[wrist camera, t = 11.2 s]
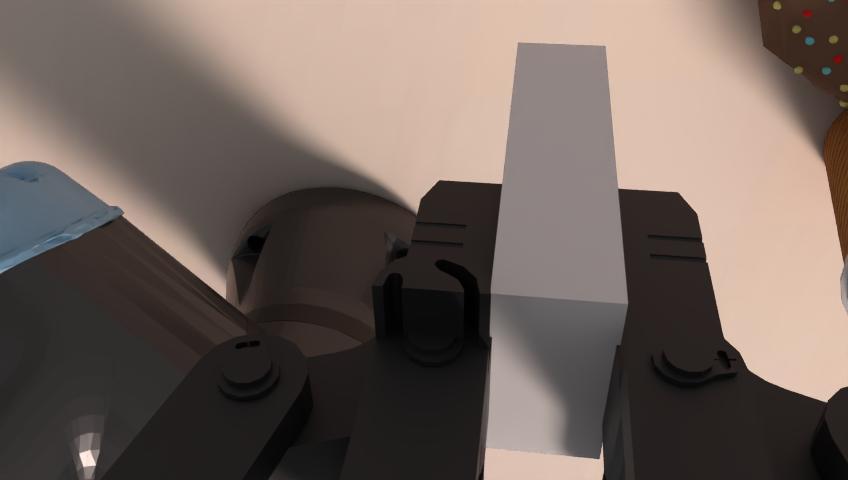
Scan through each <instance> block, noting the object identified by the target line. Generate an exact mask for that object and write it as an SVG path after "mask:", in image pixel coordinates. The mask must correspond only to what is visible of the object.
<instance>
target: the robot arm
mask: <svg viewBox="0 0 848 480" xmlns="http://www.w3.org/2000/svg"><path fill="white" fill-rule="evenodd" d="M123 214H124V212H123V211H122V210H121V209H120V208H119V207H118V206H109V205H107V204H106V203H105V202H103V201H102V200H100V199H99V198H98V197H96V196H95V195H94V194H92V193H91V192H89V191H88V190H87V189H85V188H84V187H83V186H81V185H80V184H79V183H77V182H76V181H74V180H73V179H72V178H70V177H69V176H68V175H66V174H65V173H64V172H62V171H61V170H59V169H57V168H56V167H54V166H51V165H49V164H46V163H42V162H36V161H23V162H17V163H14V164H11V165H8V166H5V167H3V168H1V169H0V480H484V460H485V449H486V448H495V449H505V450H515V451H525V452H535V453H545V454H554V455H564V456H574V457H584V458H594V459H600V453H601V448H602V443H603V457H604V474H603V479H602V480H848V387H844V388H841V389H840V390H839V391H838V392H837V393H835V394H834V395H833V396H832V397H831V398H830V399H829V400H828V402H827V403H826V402H823V401H820V400H817V399H814V398H811V397H808V396H805V395H802V394H799V393H795V392H792V391H789V390H786V389H784V388H781V387H779V386H777V385H774V384H772V383H769V382H767V381H765V380H764V379H762V378H760V377H759V376H757V375H755V374H754V373H752V372H751V371H749V370H748V368H747V366H746V364H745V362H744V360H743V358H742V356H741V354H740V352H738V351H737V350H736V349H735V348H734V347H733V346H732V345H731V344H730V343H729V342H727V341H726V340H725V339H724V336H723V332H722V328H721V323H720V318H719V314H718V309H717V304H716V300H715V295H714V290H713V286H712V281H711V276H710V272H709V267H708V263H706V253H705V248H704V244H703V243H702V234H701V230H700V225H699V220H698V216H697V213H696V212H695V211H694V210H693V209H692V208H691V207H690V205H689V204H688V203H687V202H686V201H685V200H684V199H683V197H682V196H681V195H680V194H679V193H678V192H663V191H646V190H630V189H618V183H617V172H616V161H615V149H614V138H613V126H612V115H611V104H610V92H609V81H608V70H607V58H606V47H605V46H592V45H566V44H540V43H518V48H517V57H516V66H515V75H514V84H513V93H512V102H511V111H510V120H509V129H508V138H507V147H506V156H505V164H504V173H503V182H502V184H491V183H475V182H458V181H442V180H439V181H438V182H437V183H436V184H435V185H434V186H433V187H432V188H431V189H430V190H429V191H428V192H427V193H426V195H425V196H424V197H423V198H422V199H421V201H420V205H419V209H418V213H417V217H415V216H414V215H412V214H411V213H409V212H408V211H406V210H405V209H403V208H401V207H399V206H397V205H395V204H393V203H391V202H389V201H387V200H385V199H382V198H379V197H377V196H374V195H371V194H367V193H364V192H359V191H355V190H349V189H340V188H314V189H306V190H301V191H296V192H293V193H289V194H286V195H284V196H281V197H279V198H277V199H275V200H273V201H271V202H269V203H268V204H266V205H265V206H264V207H262V208H261V209H260V210H259V211H257V212H256V213H255V214H254V215H253V216H252V218H251V219H250V220H249V221H248V223H247V224H246V226H245V228H244V229H243V231H242V233H241V235H240V237H239V239H238V241H237V243H236V245H235V247H234V249H233V251H232V254H231V257H230V260H229V264H228V269H227V283H226V300H225V299H224V298H223V297H222V296H220V295H219V294H218V293H217V292H216V291H214V290H213V289H212V288H211V287H209V286H208V285H207V284H206V283H204V282H203V281H202V280H201V279H199V278H198V277H197V276H196V275H195V274H193V273H192V272H191V271H190V270H188V269H187V268H186V267H185V266H183V265H182V264H181V263H180V262H178V261H177V260H176V259H175V258H174V257H172V256H171V255H170V254H169V253H167V252H166V251H165V250H164V249H162V248H161V247H160V246H159V245H157V244H156V243H155V242H154V241H153V240H151V239H150V238H149V237H148V236H146V235H145V234H144V233H143V232H141V231H140V230H139V229H138V228H136V227H135V226H134V225H133V224H131V223H130V222H129V221H128V220H127V219H125V218H124V217H123V216H122V215H123Z"/></svg>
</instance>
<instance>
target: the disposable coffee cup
mask: <svg viewBox="0 0 848 480" xmlns="http://www.w3.org/2000/svg"><path fill="white" fill-rule="evenodd" d="M823 156H824V161H825V166H826V171H827V176H828V181H829V187H830V192H831V198H832V203H833V208H834V214H835V219H836V224H837V229H838V236H839V241H840V246H841V251H842V256H843V261H844V268H843V271H842V274H841V277H840V280H841V299H842V303H843V305H844V308H845V310H846V312H847V314H848V109H847V110H845V111H844V112H843V113H842V114H841V115H840V116H839V117H838V118H837V120H836V121H835V122H834V123H833V125H832V126H831V128H830V130H829V131H828V133H827V136H826V139H825V142H824V148H823Z"/></svg>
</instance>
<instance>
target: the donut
mask: <svg viewBox="0 0 848 480" xmlns="http://www.w3.org/2000/svg"><path fill="white" fill-rule="evenodd" d="M758 4H759V12H760V21H761V29H762V37H763V46H764V47H766V48H767V49H768V50H770V51H771V52H772V53H774V54H775V55H776V56H778V57H779V58H780V59H782V60H783V61H784V62H786V63H787V64H788V65H790V66H791V67H793V68H794V72H795V73H796V74H800V73H801V74H803V75H804V76H805V77H806V78H807V79H808V80H809V81H810V82H811V83H812V84H813V85H815V86H816V87H818V88H820V89H821V90H823V91H824V92H826V93H828V94H831V95H833V96H835V97H837V98H838V99H840V100H841V101H840V106H842V107H846V106H848V0H758Z"/></svg>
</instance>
